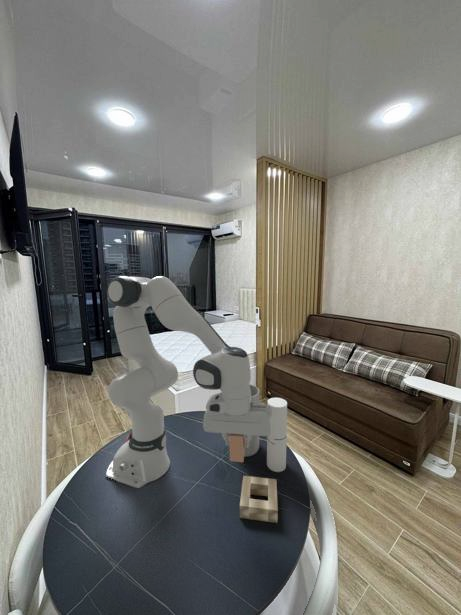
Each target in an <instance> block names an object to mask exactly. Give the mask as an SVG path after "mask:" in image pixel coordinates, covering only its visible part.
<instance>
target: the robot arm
mask: <svg viewBox="0 0 461 615" xmlns="http://www.w3.org/2000/svg"><path fill="white" fill-rule="evenodd" d="M106 294H107V299H108V300H109V301H110V302H111V304H112V305H114V306H115V307H114V309H113V313H112V316H113V326H114V331H115V335H116V339H117V343H118V346H119V350H120V354H121V355H122V356H123V357H124V358H126V359H128V360H132V361H134V362H136V363H137V364H138V366H139V368H136V369H133V370H130V371H127V372H124V373H122V374H121V375H118V376H117V377H115V378H113V379H112V380H111V382H110V383H109V386H108V391H107V393H108V397H109V400H110V401H111V403H112V404H113V405H115V406H116V407H118V408H120V409H124V410H125V411H126V413H128V415H129V417H130V420H131V421H130V422H131V430H132V431H130V432H129V434H128V436H127V437H126V438H125V440H126V441H125V442H124V443H123V444H122V445H121V446H120V447H119V448H118V450H117V452H116V453H115V454H114V457H113V460H112V461H111V463H110V464H109V465H108V467H107V469H106V472H105V477H106V478H107V477H108V478H107V479H109V478H111V479H110V480H112V479H114V480H113V481H115V480H116V482H118V483H121V484H124V485H127V486H130V487H133V488H136V489H140V488H142V487H144V486H145V485H146V484H148V483H150V482H151V483H152V482H154V481H156V480H158V479H159V478H162V477H163V475H165V474H166V473H167V472H168V470H169V468H170V465H171V460H170V458H169V455H168V452H167V447H166V446H167V445H166V443H167V436H166V428H165V421H164V420H165V418H164V417H165V416H164V410H163V408H162V407H161V406H160V405H159V404H157V403H154V402H151V398H152V397H154V396H156V395H157V394H160V393H163V392H165V391H167V390H168V389H170V388H171V387H172V386H174V385H176V384H177V381H178V379H179V371H178V368H177V366H176V365H175V364H174V363H173V361H172V362H171V361H170V360H167V359H166V358H164V357H163V356H162V355H161V354H160V353H159V352H158V351H157V350H156V347H155V345H154V343H153V341H152V337H151V334H150V331H149V328H148V324H147V322H146V318H145V313H146V311H153V312H154V313H155V316H156V318H157V319H158V320H159V322H160V323H161V324H162V326H164V327H165V328H167V329H168V330H171V331H176V332H184V333H189V334H191V335H194V336H195V337H197V338H198V339H199V340H200V341H201V343H202V344H203V345H204V346H205V348H206V349H208V351H209V352H210V353H211V354H208V355H206V356H203V357H201V358H200V359H198V360H197V361H195V363H194V365H193V369H192V375H193V379H194V381H195V383H196V384H197V385H198V386H199V387H200V388H202V389H205V390H210V391H211V390H214V391H215V390H220V392H218V393H216V394H212V395H210V397H209V398H208V400H207V402H206V404H205V410H206V411H205V412H204V415H203V422H202V423H203V424H202V426H203V427H202V429H203V430H204V432H206V433H214V434H215V433H216V434H221V437H222V439H223V440H224V441H225V446H226V447H230V440H229V435H228V434H241V435H247V439H244V447H246V448H249V442H250V440H251V439H252V435H255V436H259V437H267V436H269V435H270V434H271V424H270V417H271V416H272V409H271V407H270V406H268V405H267V403H264V402H263V403H261V402H259V403H251V390H250V386H249V384H250V383H251V376H252V374H251V373H252V372H251V362H250V357H249V355H248V353H247V351H246V350H244V349H243V348H241V347H238V346H230V345H229V344H227V343H226V342H225V341H224V340H223V338H222V337H221V336H220V334H219V333H218V332H217V331H216V330H215V329H214V327H213V326H212V325H211V323H209V321H208V320H207V319H206V318H205V317H204V316H203V315H201V314H200V313H199V312H198V311H196V309H194V307H193V306H192V305H191V304H190V303H189V302H188V300H187V299H186V298H185V296H184V295H183V293H182V291H180V290H179V288H178V286H176V284H175V283H173V281H172V280H171V279H170V278H168V277H166V276H164V275H159V276H155V277H153V278H148V277H143V276H127V275H120V276H116V277H113V278H112V279H110V281H109V283H108V285H107V288H106ZM250 385H251V384H250Z"/></svg>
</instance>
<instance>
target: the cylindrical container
mask: <svg viewBox="0 0 461 615" xmlns="http://www.w3.org/2000/svg"><path fill="white" fill-rule="evenodd" d="M266 405H268V406H270V407H271V409H272V416H271V417H270V424H271V434H270V435H269V436H266V465H267V468H268V469H269V471H270V470H271V471H272V472H276V473H281V472H283V471H285V470H286V468H287V440H288V438H287V437H288V436H287V434H288V433H287V432H288V430H287V429H288V428H287V427H288V402H287V400H286V399H285V398H284V399H283V398H282V397H271V398H268V400H267V403H266Z"/></svg>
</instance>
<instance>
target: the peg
mask: <svg viewBox="0 0 461 615" xmlns="http://www.w3.org/2000/svg"><path fill="white" fill-rule="evenodd" d="M228 437H229V440H230V446H229V461H230V462H237V463H244V460H245V457H244V454H245V447H244V435H241V434H230V435H228Z"/></svg>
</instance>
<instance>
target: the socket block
mask: <svg viewBox="0 0 461 615" xmlns="http://www.w3.org/2000/svg"><path fill="white" fill-rule="evenodd" d="M277 488H278V487H277V478H275V479H274V478H268V477H259V476H251V475H250V476H249V475H243V477H242V483H241V492H240V501H239V518H240V519H248V520H253V521H260V522H261V521H262V522H268V523H275V524H278V518H279V515H278V511H279V508H278V507H279V506H278V505H279V504H278V489H277ZM251 495H254V496H262V497H267V500H265V499H255V498H252V496H251Z"/></svg>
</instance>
